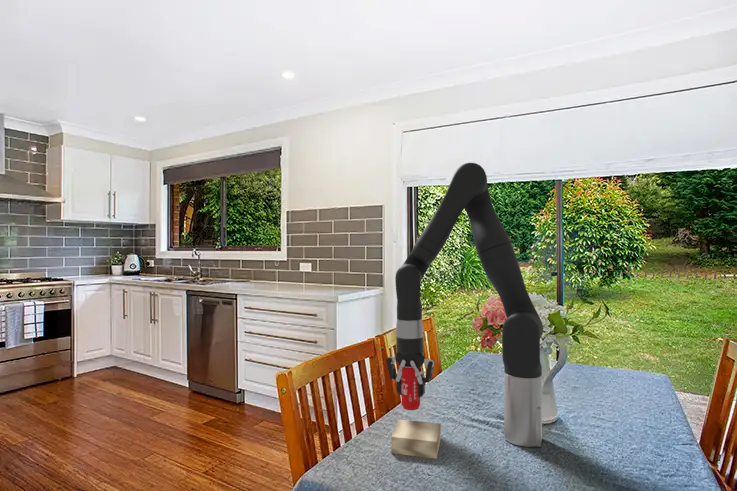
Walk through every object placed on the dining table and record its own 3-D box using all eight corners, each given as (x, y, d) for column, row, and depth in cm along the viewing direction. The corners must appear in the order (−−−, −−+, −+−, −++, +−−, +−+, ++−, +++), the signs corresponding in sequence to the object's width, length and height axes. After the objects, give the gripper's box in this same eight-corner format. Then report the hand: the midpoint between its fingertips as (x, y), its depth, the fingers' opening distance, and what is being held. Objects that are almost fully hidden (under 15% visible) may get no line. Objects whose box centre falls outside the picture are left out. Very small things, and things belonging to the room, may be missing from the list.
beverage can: (419, 411, 121) (418, 367, 121) (400, 410, 122) (400, 366, 122) (420, 404, 126) (420, 362, 126) (402, 404, 127) (402, 362, 127)
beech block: (440, 439, 115) (440, 423, 115) (436, 458, 104) (436, 441, 104) (399, 434, 117) (399, 419, 117) (391, 453, 107) (391, 436, 107)
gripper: (437, 334, 125) (439, 394, 124) (390, 331, 130) (391, 388, 130) (430, 339, 118) (432, 402, 117) (381, 335, 123) (382, 396, 123)
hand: (410, 395), depth 124 cm, fingers closed on beverage can, 5 cm apart
